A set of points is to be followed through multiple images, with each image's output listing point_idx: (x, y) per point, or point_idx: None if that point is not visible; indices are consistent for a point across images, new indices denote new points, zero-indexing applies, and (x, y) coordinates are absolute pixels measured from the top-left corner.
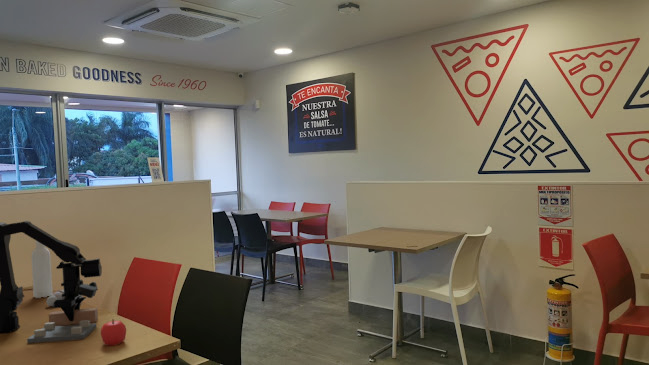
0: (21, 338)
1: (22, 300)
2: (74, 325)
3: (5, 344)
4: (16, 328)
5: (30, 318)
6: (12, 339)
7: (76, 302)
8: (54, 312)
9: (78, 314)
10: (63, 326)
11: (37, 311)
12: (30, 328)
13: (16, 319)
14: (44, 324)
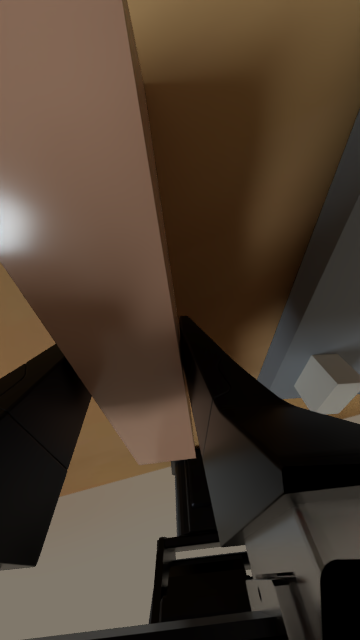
0: (308, 408)
1: (163, 611)
2: (351, 245)
3: (345, 418)
4: (195, 451)
5: (81, 461)
6: None
7: (5, 474)
8: (155, 453)
9: (172, 304)
10: (318, 321)
11: None
12: (195, 427)
13: (206, 491)
14: (339, 410)
